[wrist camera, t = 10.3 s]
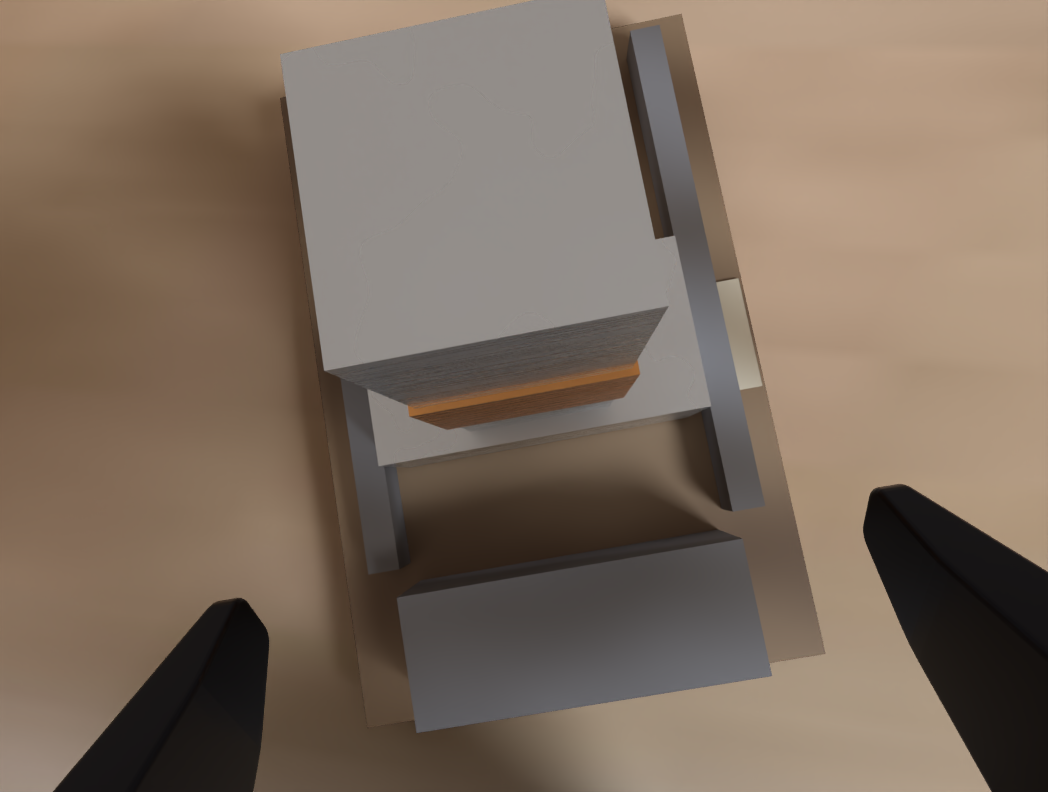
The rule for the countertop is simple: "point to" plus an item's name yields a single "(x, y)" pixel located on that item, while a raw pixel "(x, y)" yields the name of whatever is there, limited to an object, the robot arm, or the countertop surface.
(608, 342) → the sliding jaw
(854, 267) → the countertop surface
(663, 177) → the base
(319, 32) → the countertop surface
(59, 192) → the countertop surface
